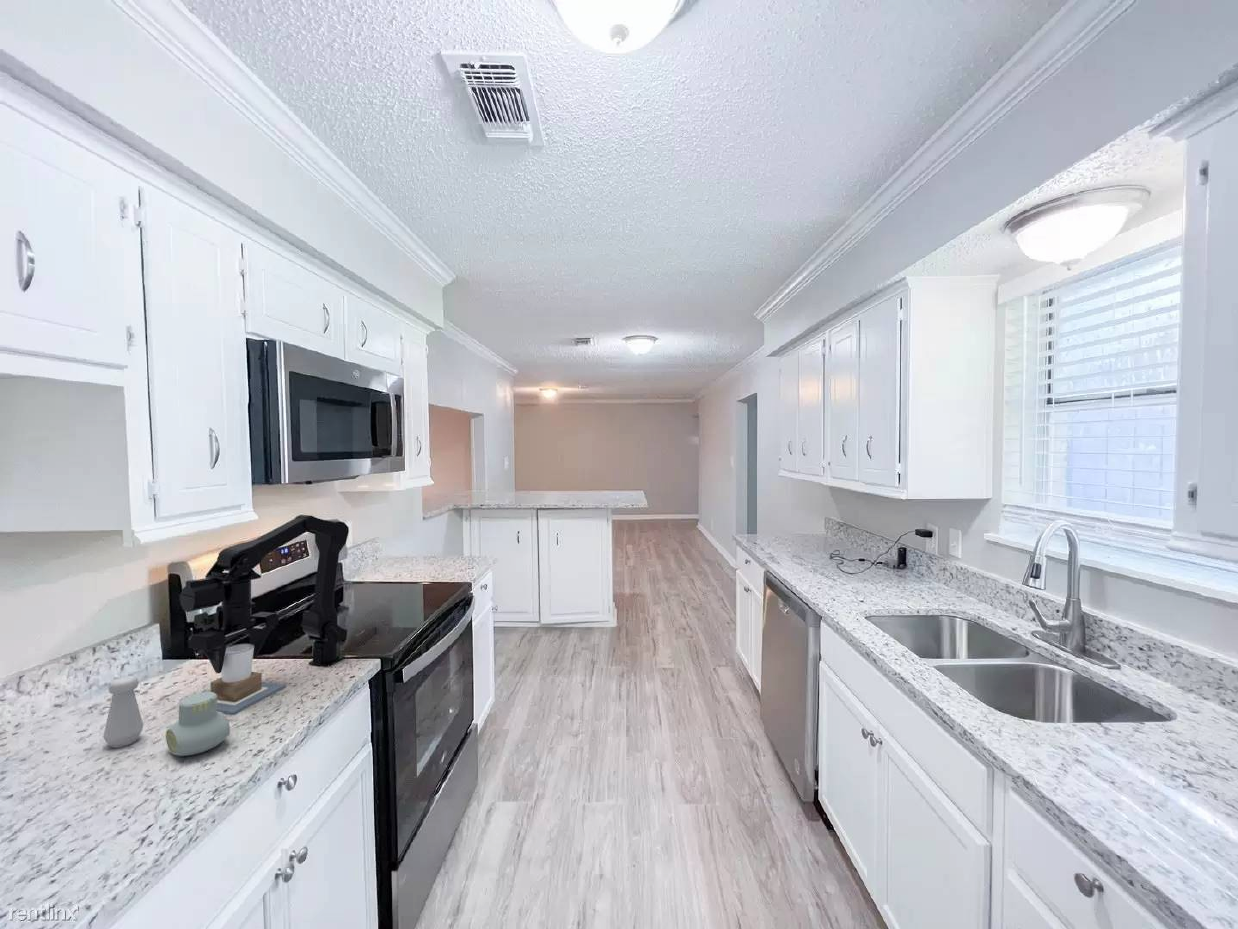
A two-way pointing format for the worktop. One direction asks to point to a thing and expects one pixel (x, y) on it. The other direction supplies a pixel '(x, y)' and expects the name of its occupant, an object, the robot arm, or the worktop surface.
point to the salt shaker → (123, 713)
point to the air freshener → (197, 725)
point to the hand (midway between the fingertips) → (236, 665)
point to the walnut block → (236, 688)
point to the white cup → (237, 663)
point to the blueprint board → (248, 699)
